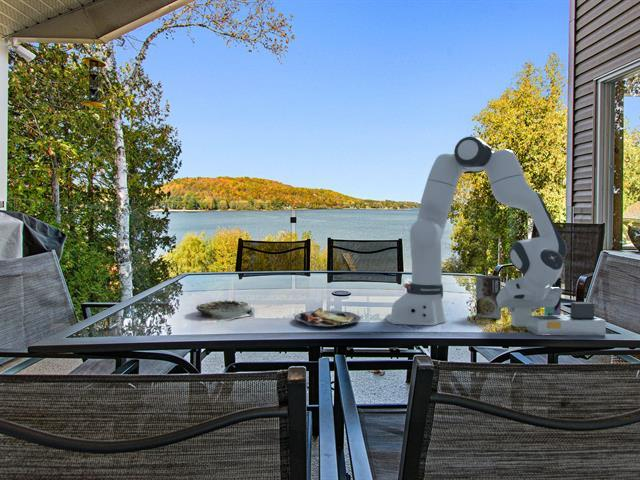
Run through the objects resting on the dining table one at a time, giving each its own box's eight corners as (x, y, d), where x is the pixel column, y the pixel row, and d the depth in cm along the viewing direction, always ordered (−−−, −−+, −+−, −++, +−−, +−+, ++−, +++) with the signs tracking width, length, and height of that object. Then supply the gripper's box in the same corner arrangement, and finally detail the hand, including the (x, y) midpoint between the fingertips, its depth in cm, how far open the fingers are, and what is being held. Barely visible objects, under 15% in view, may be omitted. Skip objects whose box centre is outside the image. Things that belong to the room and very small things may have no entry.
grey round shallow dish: (206, 325, 157) (206, 312, 157) (176, 315, 177) (176, 303, 177) (268, 314, 176) (268, 302, 175) (235, 306, 196) (234, 295, 196)
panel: (514, 326, 151) (514, 301, 151) (511, 324, 154) (511, 300, 154) (531, 326, 151) (531, 301, 151) (527, 324, 154) (527, 299, 154)
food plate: (282, 321, 161) (282, 312, 160) (323, 312, 178) (324, 304, 178) (332, 334, 144) (332, 324, 143) (372, 323, 161) (372, 314, 161)
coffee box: (501, 316, 169) (501, 275, 168) (500, 319, 163) (501, 277, 162) (477, 314, 173) (477, 274, 172) (475, 317, 167) (475, 276, 166)
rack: (538, 335, 138) (538, 305, 138) (526, 329, 147) (526, 300, 146) (606, 335, 138) (606, 305, 138) (590, 329, 146) (590, 300, 146)
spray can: (562, 321, 158) (563, 268, 157) (546, 321, 159) (547, 268, 159) (557, 318, 164) (558, 267, 163) (542, 317, 165) (542, 266, 164)
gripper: (561, 280, 145) (546, 303, 155) (501, 280, 145) (490, 303, 155) (568, 295, 141) (552, 318, 151) (507, 295, 141) (495, 318, 151)
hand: (520, 310), depth 153 cm, fingers closed on panel, 6 cm apart
